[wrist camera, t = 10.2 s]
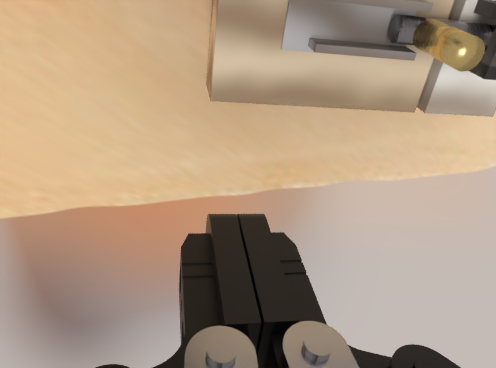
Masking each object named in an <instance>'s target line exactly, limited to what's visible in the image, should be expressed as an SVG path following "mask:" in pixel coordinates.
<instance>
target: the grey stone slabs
mask: <svg viewBox="0 0 496 368" xmlns="http://www.w3.org/2000/svg"><path fill="white" fill-rule="evenodd" d="M396 15H408V16H417V17H427V18H436V19H445V20H454V21H464V22H473V23H482V24H492V25H496V0H213V1H212V15H211V29H210V42H209V56H208V70H207V83H206V84H207V88H208V92H209V96H210V100H211V101H220V102H238V103H256V104H274V105H292V106H310V107H328V108H346V109H364V110H382V111H400V112H415V110H416V107H418V108H419V109H420V110H422V111H423V112H424V113H436V114H454V115H472V116H490V117H493V115H494V113H495V111H496V28H495V30H494V33H493V35H492V38H491V40H490V42H489V45H488V47H487V50H486V52H484V55H483V57H482V59H481V61H480V62H479V63H478V64H477V65H476V66H475V67H474V68H472V69H471V70H468V71H464V72H461V71H457V70H456V69H454V68H452V67H450V66H448V65H446V64H445V63H443V62H441V61H439V60H437V59H436V58H434V57H432V56H430V55H428V54H426V53H425V52H423V51H421V50H419V49H417V48H416V47H415V45H406V44H395V43H391V41H390V39H389V28H390V25H391V22H392V20H393V18H394V17H395V16H396Z"/></svg>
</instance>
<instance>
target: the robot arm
mask: <svg viewBox="0 0 496 368" xmlns="http://www.w3.org/2000/svg"><path fill="white" fill-rule="evenodd" d="M180 260H181V261H180V281H179V300H180V301H179V302H180V329H181V346H180V348H179V349H178V350H177V352H176V353H175V354H174V355H173V356H172V357H171V358H169V359H168V360H167V361H165V362H164V363H162V364H160V365H158V366H155V367H153V368H460V367H459V366H458V365H456V364H455V363H453V362H451V361H450V360H449V359H447V358H446V357H444V356H442V355H441V354H439V353H438V352H436V351H434V350H432V349H430V348H427V347H424V346H420V345H405V346H402V347H400V348H399V349H397V350H396V352H395V353H394V355H393V356H392V358H391V357H387V356H383V355H379V354H374V353H370V352H366V351H362V350H358V349H356V348H353V347H351V346H349V345H348V344H347V343H346V341H345V339H344V338H343V337H342V336H341V335H340V334H339V333H338V332H337V331H336V330H335V329H333V328H332V327H330V326H328V325H327V324H326V321H325V319H324V317H323V314H322V311H321V309H320V306H319V304H318V301H317V298H316V296H315V293H314V291H313V288H312V286H311V283H310V281H309V278H308V276H307V275H306V270H305V268H304V265H303V263H302V262H301V257H300V255H299V252H298V250H297V247H296V245H295V244H294V243H293V242H292V241H291V240H290V239H289V238H288V237H287V236H286V235H285V234H284V233H271V232H270V228H269V225H268V222H267V219H266V217H265V215H264V214H237V215H236V214H208V216H207V224H206V233H204V234H188V236H187V238H186V239H185V241H184V243H183V245H182V246H181V259H180ZM96 368H129V367H127V366H123V365H117V364H110V365H103V366H99V367H96Z"/></svg>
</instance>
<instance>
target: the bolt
mask: <svg viewBox="0 0 496 368" xmlns="http://www.w3.org/2000/svg"><path fill="white" fill-rule="evenodd" d="M495 28H496V25H492V24H482V23H473V22H464V21H454V20H445V19H436V18H427V17H417V16H408V15H396V16H395V17H394V18H393V20H392V22H391V25H390V28H389V39H390V41H391V43H395V44H406V45H415V47H416V48H417V49H419V50H421V51H423V52H425V53H426V54H428V55H430V56H432V57H434V58H436V59H437V60H439V61H441V62H443V63H445V64H446V65H448V66H450V67H452V68H454V69H456V70H457V71H461V72H464V71H468V70H471V69H472V68H474V67H475V66H476V65H477V64H478V63H479V62H480V61H481V59H482V57H483V55H484V52H486V50H487V47H488V45H489V42H490V40H491V38H492V35H493V33H494V30H495Z"/></svg>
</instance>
